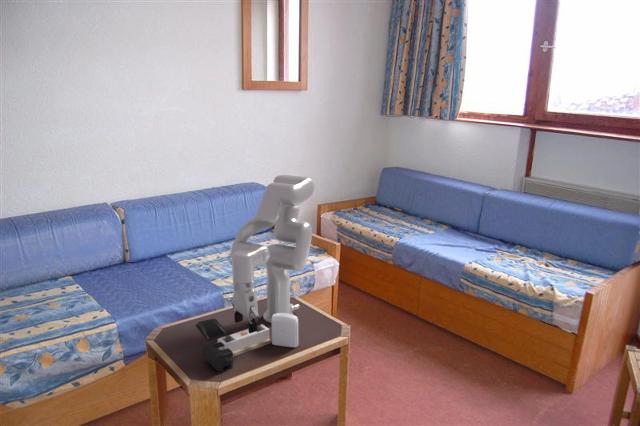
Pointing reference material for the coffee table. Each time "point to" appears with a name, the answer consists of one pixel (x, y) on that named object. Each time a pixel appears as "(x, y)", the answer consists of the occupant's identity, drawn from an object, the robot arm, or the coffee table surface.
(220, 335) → the phone
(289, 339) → the photo printer
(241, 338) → the white long block
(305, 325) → the coffee table surface
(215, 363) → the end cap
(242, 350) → the board
